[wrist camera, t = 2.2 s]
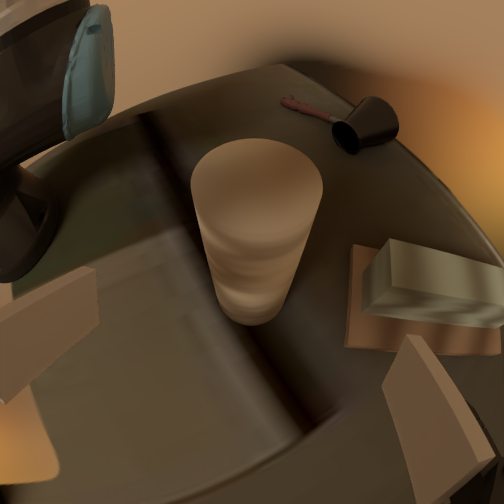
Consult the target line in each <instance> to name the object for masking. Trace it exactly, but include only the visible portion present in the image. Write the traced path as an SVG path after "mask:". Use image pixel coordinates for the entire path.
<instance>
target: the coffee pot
mask: <svg viewBox="0 0 504 504" xmlns="http://www.w3.org/2000/svg"><path fill="white" fill-rule="evenodd" d="M288 96H292V95H287V96H286V97H284V98H282V99H281V104H282V105H283V106H285V107H287V108H291V109H292V110H295V111H298V110H299V111H300V112H301V113H303V114H308V115H314V116H317V117H319V118H321V119H323V120H325V121H327V122H332V123H334V125H333V126H332V135H333V138H334V140H335V142H336V144H337V145H338V146H339V147H341V148H342V149H343V150H345V151H346V152H347V153H348V154H356V153H357V152H358V151H359V149H360V147H363V146H368V145H373V144H378V143H384V142H388V141H391V140H393V139H394V138H395V137H396V136H397V133H398V131H399V122H398V118H397V115H396V113H395V111H394V110H393V108H392V107H391V106H390V105H389V104H388V103H387V102H386V101H384V100H383V99H381V98H379V97H375V96H368V97H366V98H364V99H362V100H361V102H360V103H359V104H358V105H357V106H356V107H355V109H354V110H353V111H352V112H351V113H350V114H349V115H348V117H347V118H346V119H345V120H340V119H338V118H336V117H333V116H332V115H331V114H328V113H325V112H322V111H318V110H316V109H314V108H312V107H311V106H309V105H307V104H305V103H303V104H301V103H300V102H299V101H296V100H294V97H293V96H292V98H293V99H291V98H287V97H288Z"/></svg>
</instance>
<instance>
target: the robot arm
mask: <svg viewBox="0 0 504 504" xmlns="http://www.w3.org/2000/svg"><path fill="white" fill-rule="evenodd" d="M114 59H115V58H114V39H113V27H112V23H111V13H110V10H109V7H108V6H107V5H99V4H96V5H93V6H90V1H89V0H0V283H10V282H13V281H15V280H17V279H19V278H20V277H22V276H23V275H24V274H26V273H27V272H28V271H29V270H30V269H31V268H32V267H33V266H34V265H35V264H36V262H37V261H38V260H39V259H40V257H41V256H42V254H43V253H44V251H45V250H46V248H47V247H48V245H49V243H50V241H51V239H52V237H53V235H54V232H55V229H56V227H57V223H58V219H59V210H60V208H59V201H58V199H57V197H56V195H55V194H54V192H53V191H52V190H51V188H50V187H49V186H48V185H47V184H46V183H45V182H43V181H42V180H40V179H39V178H38V177H36V176H35V175H33V174H32V173H30V172H29V171H27V170H26V169H24V168H23V167H22V166H20V163H22V162H24V161H25V160H27V159H29V158H31V157H33V156H35V155H37V154H39V153H41V152H43V151H45V150H47V149H49V148H51V147H53V146H55V145H57V144H60V143H62V142H64V141H66V140H67V141H70V140H72V139H74V137H75V136H76V135H78V134H80V133H82V132H85V131H87V130H89V129H91V128H93V127H96V126H98V125H100V124H101V123H103V122H104V121H105V120H106V119H107V118H108V116H109V115H110V113H111V111H112V108H113V104H114V95H115V60H114ZM99 324H100V321H99V311H98V299H97V282H96V269H93V268H89V267H86V266H82V267H80V268H78V269H76V270H74V271H72V272H69V273H67V274H65V275H63V276H61V277H59V278H57V279H55V280H53V281H51V282H49V283H47V284H45V285H43V286H41V287H39V288H37V289H35V290H33V291H31V292H30V293H28V294H26V295H24V296H22V297H20V298H18V299H16V300H14V301H13V302H11V303H9V304H7V305H5V306H4V307H2V308H0V401H1V402H3V403H4V404H5V405H6V404H7V403H8V402H9V401H10V400H11V399H12V398H13V397H15V396H16V395H17V394H18V393H19V392H20V391H21V390H22V389H24V388H25V387H26V386H27V385H28V384H29V383H30V382H31V381H33V380H34V379H35V378H36V377H37V376H38V375H39V374H40V373H42V372H43V371H44V370H45V369H46V368H47V367H49V366H50V365H51V364H52V363H53V362H54V361H56V360H57V359H58V358H59V357H60V356H61V355H63V354H64V353H65V352H66V351H67V350H69V349H70V348H71V347H72V346H73V345H75V344H76V343H77V342H78V341H79V340H81V339H82V338H83V337H84V336H85V335H87V334H88V333H89V332H90V331H92V330H93V329H94V328H95V327H96V326H98V325H99ZM381 387H382V390H383V392H384V395H385V398H386V401H387V404H388V407H389V409H390V412H391V415H392V418H393V421H394V424H395V427H396V431H397V434H398V437H399V440H400V443H401V447H402V450H403V453H404V457H405V460H406V464H407V467H408V471H409V475H410V478H411V482H412V486H413V490H414V494H415V498H416V503H417V504H442V503H443V502H444V501H446V500H447V499H448V498H450V501H451V503H450V504H504V457H503V458H502V456H501V455H500V453H499V451H498V449H497V447H496V445H495V443H494V442H493V440H492V438H491V436H490V434H489V432H488V431H487V429H486V428H484V427H485V425H484V424H483V422H482V420H480V417H479V415H478V414H477V412H476V410H475V409H474V408H473V407H472V406H471V405H470V404H469V403H468V402H467V401H466V400H464V398H463V397H462V395H461V394H460V392H459V391H458V389H457V387H456V386H455V384H454V383H453V381H452V380H451V378H450V377H449V375H448V374H447V372H446V371H445V369H444V368H443V366H442V365H441V363H440V362H439V360H438V359H437V358H436V356H435V355H434V353H433V352H432V350H431V349H430V348H429V346H428V345H427V344H426V342H425V341H424V339H423V338H422V337H421V336H420V335H410V334H406V336H405V338H404V340H403V342H402V345H401V347H400V349H399V351H398V353H397V355H396V358H395V360H394V362H393V364H392V366H391V368H390V370H389V372H388V374H387V376H386V378H385V379H384V381H383V383H382V385H381Z"/></svg>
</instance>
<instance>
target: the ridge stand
mask: <svg viewBox="0 0 504 504" xmlns="http://www.w3.org/2000/svg"><path fill="white" fill-rule="evenodd" d="M502 325H504V269H503V268H499V267H496V266H493V265H489V264H486V263H482V262H479V261H475V260H472V259H468V258H465V257H461V256H457V255H454V254H450V253H446V252H443V251H439V250H435V249H431V248H427V247H423V246H419V245H415V244H411V243H407V242H403V241H399V240H395V239H390V238H389V239H388V241H387V242H386V243H385V245H384V246H383V247H382V249H381V250H379V249H375V248H370V247H365V246H361V245H356V244H353V245H352V247H351V248H350V271H349V292H348V307H347V320H346V331H345V341H344V347H348V348H357V349H366V350H375V351H386V352H398V351H399V349H400V347H401V345H402V342H403V340H404V338H405V336H406V334H410V335H420V336H421V337H422V338H423V339H424V341H425V342H426V344H427V345H428V346H429V348H430V349H431V350H432V352H433V353H434V355H460V356H486V355H498V354H500V353H501V340H500V326H502Z"/></svg>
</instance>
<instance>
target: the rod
mask: <svg viewBox="0 0 504 504" xmlns="http://www.w3.org/2000/svg"><path fill="white" fill-rule="evenodd" d="M191 192H192V196H193V201H194V205H195V210H196V214H197V218H198V223H199V227H200V231H201V235H202V240H203V244H204V248H205V252H206V256H207V260H208V264H209V268H210V272H211V275H212V279H213V283H214V287H215V291H216V294H217V298H218V302H219V305H220V307H221V309H222V310H223V312H224V313H225V314H226V315H227V316H228V317H229V318H230V319H231V320H233V321H235V322H237V323H239V324H243V325H251V326H254V325H260V324H263V323H266V322H268V321H270V320H271V319H273V318H274V317H275V316H276V315H277V314H278V313H279V312H280V310H281V308H282V306H283V304H284V301H285V299H286V296H287V293H288V291H289V288H290V285H291V283H292V280H293V277H294V275H295V272H296V269H297V267H298V264H299V261H300V258H301V256H302V253H303V250H304V247H305V244H306V241H307V239H308V236H309V233H310V230H311V227H312V224H313V221H314V218H315V215H316V212H317V209H318V206H319V203H320V200H321V197H322V192H323V183H322V178H321V175H320V173H319V171H318V169H317V167H316V166H315V165H314V163H313V162H312V161H311V160H310V159H309V158H308V157H307V156H306V155H304V154H303V153H302V152H300V151H299V150H297V149H295V148H293V147H291V146H289V145H287V144H284V143H281V142H278V141H274V140H268V139H256V138H252V139H241V140H236V141H232V142H228V143H225V144H223V145H221V146H218V147H217V148H215V149H213V150H211V151H210V152H209V153H207V154H206V155H205V156H204V157H203V158H202V159H201V160H200V161H199V162H198V164H197V165H196V167H195V169H194V171H193V174H192V178H191Z"/></svg>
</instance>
